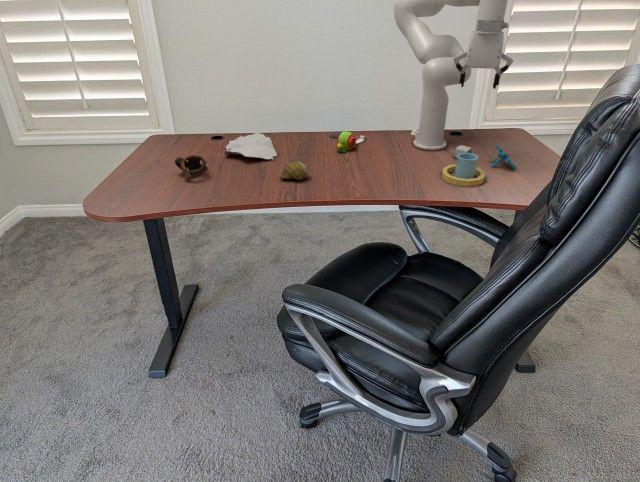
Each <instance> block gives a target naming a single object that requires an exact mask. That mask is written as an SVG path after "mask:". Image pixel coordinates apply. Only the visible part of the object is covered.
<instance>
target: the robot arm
mask: <svg viewBox="0 0 640 482" xmlns="http://www.w3.org/2000/svg"><path fill="white" fill-rule="evenodd" d="M508 1H509V0H395V1H394V3H393V17H394V21H395V24H396V26H397V28H398V30H399V31H400V32H401V34H402V35H403V36H404V38H405V39H406V42H407V43H408V45H409V46H410V48H411V50H412V52H413V54H414V56H415V58H416V59H417V61H418V62H419V63H420V64H422V65H423V67H422V71H421V76H422V77H421V78H422V79H421V80H422V97H421V107H420V117H419V123H418V130H417V129H414V128H413V129H412V130H411V132H410V136H411V137H414V138H415V139H414V140H413V142H412V145H413V146H414V147H415V148H418V149H420V150H423V151H424V150H425V151H441V150H444V149H445V148H446V147H447V145H448V144H447V143H448V142H447V141H446V140H444V135H445V129H446V121H447V115H448V114H447V113H448V108H449V102H450V101H449V94H448V92H447V89H446V87H448V86H455V85H456V86H457V85H461V86H460V87H461V88H463V87H465V83H467V81H468V80H470V78H471V75H472V69H494V71H495V74H494V78H493V83H492V89H494V90H496V89H497V86H499V85H500V79H501V76H502V75H503V74H504V73H505V72H506V71H508V70H509V68H510V67H511V65H512V64H513V63H514V59H513V58H511V57H510V56H508V55H507V54H505V53H504V52H503V48H504V39H505V38H504V37H505V33H504V31H503V30H504V29H508V28H509V22H506V21H505V16H506V11H507V6H508ZM446 5H447V6H450V7H457V8H462V7H478V10H477V16H476V22H475V28H474V30H472V32H471V34H470V37H469V41H468V45H467V48H466V51H464V48H463V47H462V45H461V44H460V41H458V38H456V37H455V36H453V35H450V34H439V35H438V34H434V33H432V31H431V30H430V28H429V26H428V25H427V23H425V22H424V21H423V20H421V19H420V18H427V17H428V18H429V17H435V16H436V15H438V14H439V13H440V12H441V11H442V10H443V8H445V6H446ZM501 60H503V61H504V62H506V63H505V64H504V65H503V66H502V67H500V65H501Z"/></svg>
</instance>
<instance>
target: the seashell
mask: <svg viewBox="0 0 640 482" xmlns="http://www.w3.org/2000/svg"><path fill="white" fill-rule="evenodd" d="M308 175H309V166H308V165H305V164H304V163H302V162H301V161H300V160H296V161H295V160H294V161H291V162H289V163H287V164H286V165H285V166H284V167H283V169H282V170H281V176H280V179H281V180H292V179H293V180H296V181H303V180H305V179H306V178H307V177H308Z"/></svg>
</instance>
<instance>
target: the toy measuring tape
mask: <svg viewBox="0 0 640 482" xmlns="http://www.w3.org/2000/svg"><path fill="white" fill-rule="evenodd" d="M366 139H367V136H366V135H360V136H359V138H358V139H356V137H355V134H354V133H353V132H350V131H346V130H345V131H343V132H341V133H340V135H338V137H337V141H336V142H337V143H336V144H337V145H336V149H337V152H340V153H346V152H348V151H351V150H352V149H354V148H356V147H357V146H358V145H357V144H361V143H363V142H364V141H365V140H366Z"/></svg>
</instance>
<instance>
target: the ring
mask: <svg viewBox="0 0 640 482" xmlns="http://www.w3.org/2000/svg"><path fill="white" fill-rule="evenodd" d="M455 169H456V164H448V165H446V166H445V167H443V168H442V173H441V179H442V180H444V181H445V182H446V183H447V184H448V183H449V184H451V185H454V186H458V187H459V186H460V187H468V188H469V187H476V186H477V187H478V186H480V185H481V184H483V183H485V180H486V172H485V171H484V170H483V169H481V168H480V167H478V166H476V171H475V176H476V177H474V178H473V179H462V178H457V177H454V175H451V174H450V173H455Z"/></svg>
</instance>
